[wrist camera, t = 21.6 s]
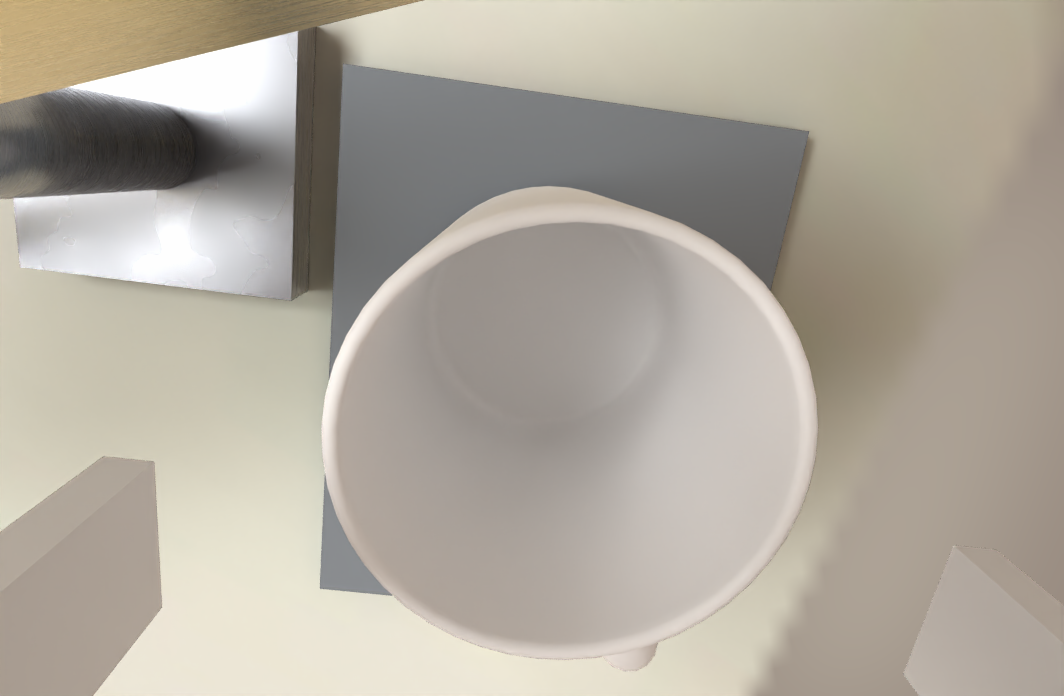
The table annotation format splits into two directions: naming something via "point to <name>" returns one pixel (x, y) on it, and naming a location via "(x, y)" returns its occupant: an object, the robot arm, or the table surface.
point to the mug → (569, 428)
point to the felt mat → (521, 162)
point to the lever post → (171, 172)
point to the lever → (141, 34)
